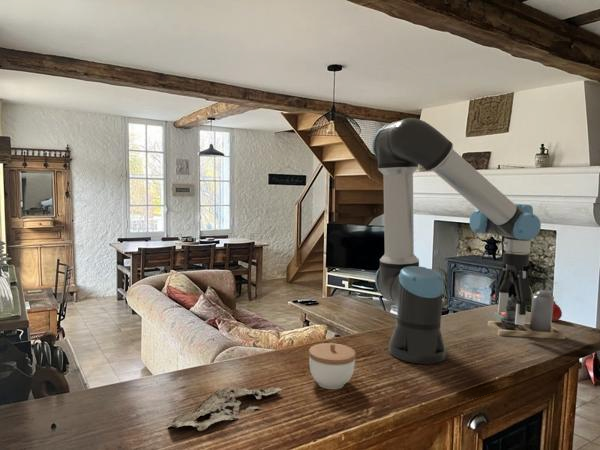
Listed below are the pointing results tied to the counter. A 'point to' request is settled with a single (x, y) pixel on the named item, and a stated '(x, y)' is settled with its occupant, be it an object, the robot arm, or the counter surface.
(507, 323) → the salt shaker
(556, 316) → the onion
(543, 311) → the pepper pot
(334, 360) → the lidded jar
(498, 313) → the grey-green square box
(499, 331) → the tray
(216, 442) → the counter surface
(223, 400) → the driftwood
